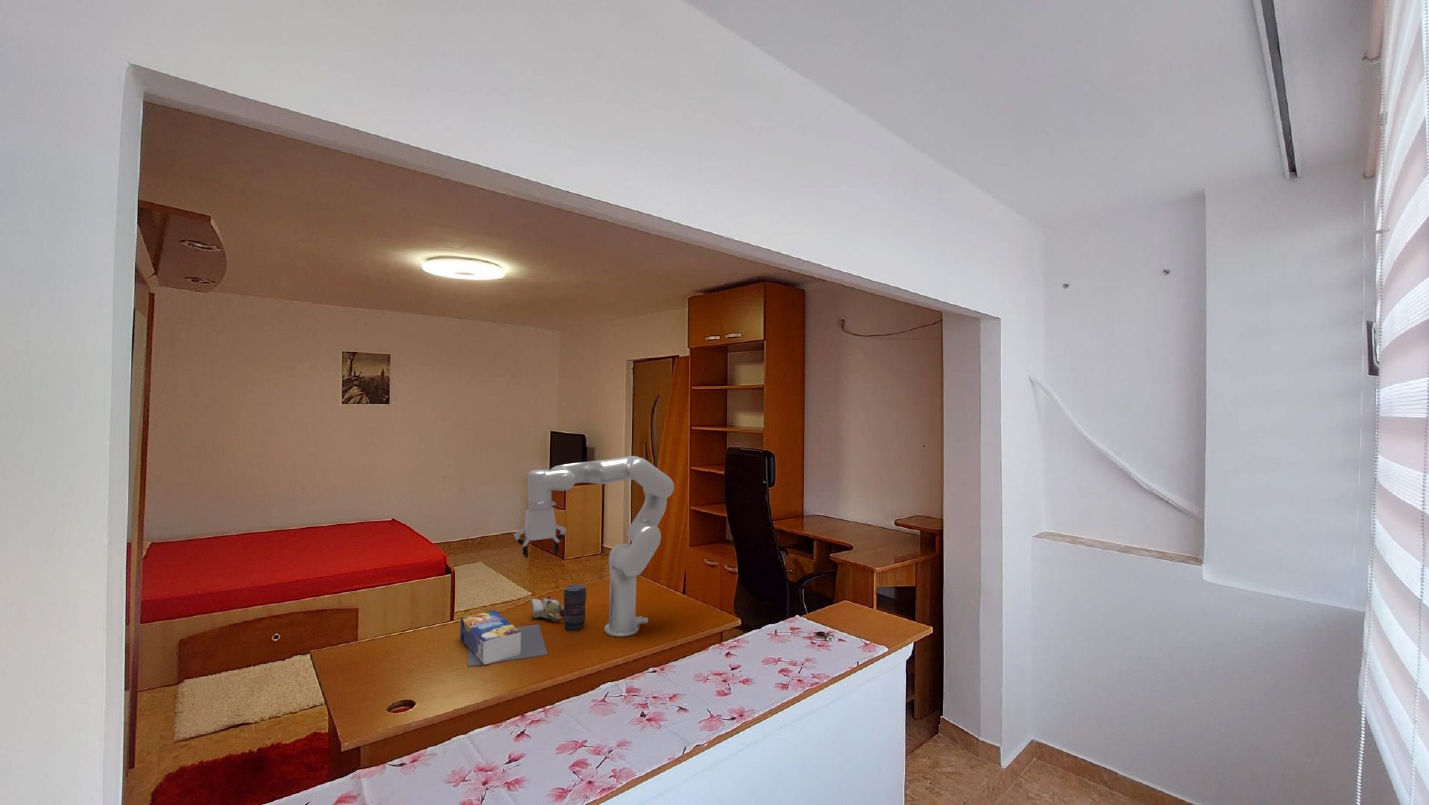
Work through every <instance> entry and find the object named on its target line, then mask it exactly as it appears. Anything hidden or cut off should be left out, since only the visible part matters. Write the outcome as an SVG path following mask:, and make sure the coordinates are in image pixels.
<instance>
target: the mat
mask: <svg viewBox="0 0 1429 805" xmlns="http://www.w3.org/2000/svg"><path fill="white" fill-rule="evenodd" d="M515 627H516V628H517V629H518V630H519V631H520V632H521V651H520V655H517V656H514V657H510V658H507V659H503V660H499V661H496V662H492V663H489V664H488V665H491V664H498V663H505V662H511V661H512V662H513V661H517V660H518V661H519V660H525V659H532V658H540V657H543V656H548V652H547V648H546V644H545V641H544V637H543V634H542V631H541V627H540V624H539V623H538V624H530V625H523V626H521V625H520V626H515ZM467 648H468V647H467ZM467 651H468V656H467V657H468V658H467V659H468V660H467V664H468V666H467V667H468V668H470V667H478V666H485V665H486V666H487V664H485V665H483V663H482V662H481V661H480V660H479V659H478V658H477V657H476V656H475V655H474V653H473V652H472V651H471V650H470V649H469V648H468V649H467Z"/></svg>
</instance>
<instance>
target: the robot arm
mask: <svg viewBox="0 0 1429 805" xmlns="http://www.w3.org/2000/svg"><path fill="white" fill-rule="evenodd" d="M627 480H628V481H629V480H633V481H635V483H637V484H638V485H640V486H641V487H642V488H643V490H644V494H645V499H644V502H643V505H642V507H641V508H640V510H639V511H638V513H637V514H636V516H635V518H634V519H633V521H632V522H631V523H630V525H629V526H628V527H629V528H628V529H627V537H628V540H630V542H631V543H630V544H628V543H618V544H615V545H614V546H613V547H612V548H611V550H610V551H609V556H608V566H609V568H608V569H609V609H608V610H609V611H608V612H609V613H608V614H609V615H608V623H607V624H606V625H605V626H604V632H605V633H606V634H607V635H609V636H612V637H629V636H633V635H634V634H637V633H638V632H639V630H640V624H648V622H649V619H648V617H643V615H642V616H641V615H640V616H636V604H637V603H636V598H637V597H636V596H637V577H638V576H639V575H641V573H642V572H644V570H645V568H646V567H647V565H648V564H649V563H650V561H651V559H652V558H653V556H654V555H655V553H656V552H657V549H658V548H659V546H660V544H661V539H662V534H661V530H660V528H659V527H658V525H659V523H660V521H661V520H662V518H663V516H664V515H665V512H666V508H667V503H668V502H667V498H669V497H671V496H672V494H673V492H674V489H675V484H674V481H673V480H672V478H671V477H670V476H668V475H667V474H665V472H663V471H661V470H660V469H659V468H657V467H656V466H654V465H653V464H652V463H651V462H649V461H648V460H647V459H645V458H642V457H639V456H637V455H629V456H621V457H615V458H614V457H613V458H608V459H601V460H590V461H581V462H573V463H565V464H560V465H556V466H552V467H551V468H550V470H548V469H544V468H543V469H532V470H530V471H529V472H528V475H527V489H528V491H527V492H528V493H527V496H528V497H527V498H528V509H526V510H525V516H524V527H523V528H520V530H518V531H516V532H515V533H514V534H513V536H514V539H515V540H516V541H517V543H518V544H520V546H522V556H523V557H525V559H528V558H529V548H528V544H529V542H530V541H539V540H549V539H553V543H552V544H553V554H554V555H558V552H559V550H560V549H559V548H560V547H559V546H560V545H559V544H560V541H561V540H562V539H563V538H564V536H565V533H566V532H567V528H566V527H564V526H561V525H558V524H556V523H557V522H556V516H555V511H554V508H553V506H556V505H557V502H556V500H555V501H554V500H552V491H561V492H563V491H565V492H566V491H568V490H570V489H571V488H573V487H574V486H575V484H580V483H585V484H586V483H589V484H595V485H604V484H605V485H606V484H611V483H615V482H622V481H627ZM557 530H558V531H560V533H559V534H558V535H557ZM523 534H524V539H522V538H520V536H521V535H523Z"/></svg>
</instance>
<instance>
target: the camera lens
mask: <svg viewBox="0 0 1429 805" xmlns="http://www.w3.org/2000/svg"><path fill="white" fill-rule="evenodd" d="M586 602H587V587H586V585H584V584H570V585H567V586H565V587H564V590H563V607H564V614H563V615H562V616H563V617H562V618H563V625H564V629H565V631H568V632H577V631H580V630H583V628H584V625H585V622H586Z"/></svg>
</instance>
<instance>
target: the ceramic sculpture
mask: <svg viewBox="0 0 1429 805" xmlns="http://www.w3.org/2000/svg"><path fill="white" fill-rule="evenodd" d="M530 604H531V605H530V606H531V607H530V608H531V611H532V616H533V619H538V618H543V619H546V620H551V621H553V622H558V621H564V619H563V617H562V616H561V615H564V605H562V603H561V602H560V601H559V600H558V599H554V598H551V596H546V597H544V598H543V599H542V600H540V599H538V598H533V597H532V598H531V602H530Z"/></svg>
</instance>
